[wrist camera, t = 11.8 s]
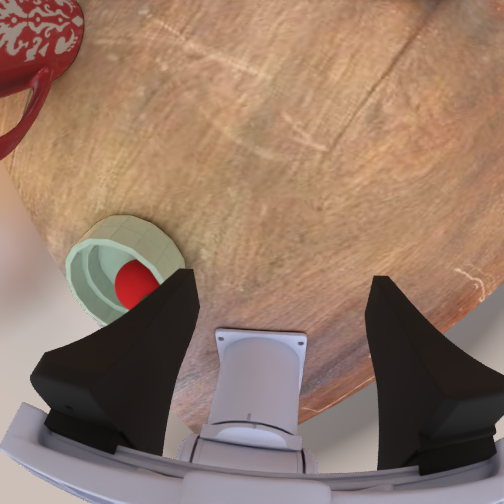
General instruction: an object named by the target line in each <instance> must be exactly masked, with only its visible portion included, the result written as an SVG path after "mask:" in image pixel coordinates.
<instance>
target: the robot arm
mask: <svg viewBox="0 0 504 504" xmlns="http://www.w3.org/2000/svg"><path fill="white" fill-rule="evenodd" d="M199 309H200V304H199V299H198V293H197V288H196V282H195V276H194V270H193V269H184V268H179V269H178V270H176V271H175V272H174V273H173V274H172V275H171V276H170V277H168V278H167V279H166V280H165V281H164V282H163V283H162V284H161V285H160V286H158V287H157V288H156V289H155V290H154V291H153V292H152V293H150V294H149V295H148V296H147V297H146V298H144V299H143V300H142V301H141V302H139V303H138V304H137V305H136V306H134V307H133V308H132V309H131V310H129V311H128V312H127V313H125V314H124V315H122V316H121V317H119V318H118V319H116V320H115V321H113V322H112V323H110V324H109V325H107V326H105V327H103V328H101V329H100V330H98V331H96V332H94V333H92V334H91V335H89V336H86V337H84V338H82V339H80V340H78V341H75V342H73V343H71V344H69V345H66V346H63V347H60V348H57V349H54V350H51V351H48V352H45V353H44V355H43V356H42V358H41V360H40V361H39V363H38V364H37V366H36V368H35V369H34V371H33V372H32V374H31V376H30V381H31V383H32V386H33V387H34V389H35V390H36V392H37V393H38V394H39V395H40V396H41V397H42V399H43V400H44V401H45V402H46V403H47V404H48V406H49V407H50V408H51V410H50V412H49V414H47V413H45V412H44V411H42V410H41V409H38V408H36V407H34V406H32V405H29V404H27V403H25V402H23V403H22V404H21V406H20V408H19V409H18V411H17V413H16V415H15V417H14V419H13V421H12V423H11V424H10V426H9V429H8V430H7V432H6V434H5V437H4V438H3V440H2V442H1V444H0V450H1V451H2V452H3V453H5V454H6V455H7V456H9V457H10V458H11V459H13V460H14V461H15V462H17V463H18V464H19V465H21V466H22V467H24V468H25V469H26V470H28V471H29V472H31V473H32V474H34V475H36V476H38V477H39V478H41V479H43V480H45V481H46V482H48V483H50V484H52V485H54V486H56V487H58V488H60V489H62V490H64V491H66V492H68V493H70V494H72V495H74V496H76V497H78V498H80V499H83V500H85V501H87V502H89V503H92V504H504V438H502V439H499V440H498V441H496V442H494V439H493V435H495V434H496V428H495V423H496V422H497V421H498V420H499V419H500V418H501V417H502V416H503V415H504V375H502V374H501V373H499V372H497V371H495V370H493V369H491V368H489V367H487V366H485V365H484V364H482V363H481V362H479V361H477V360H476V359H474V358H473V357H471V356H469V355H468V354H467V353H465V352H464V351H463V350H461V349H460V348H459V347H457V346H456V345H455V344H453V343H452V342H451V341H449V340H448V339H447V338H446V337H445V336H444V335H443V334H442V333H440V332H439V331H438V330H437V329H436V328H435V327H434V326H433V325H432V324H431V323H430V322H429V321H428V320H427V319H426V318H425V317H424V316H423V315H422V314H421V313H420V312H419V311H418V310H417V309H416V307H415V306H414V305H413V304H412V303H411V302H410V301H409V300H408V298H407V297H406V296H405V295H404V294H403V293H402V291H401V290H400V289H399V288H398V287H397V286H396V284H395V283H394V282H393V281H392V280H391V279H390V277H389V276H374V277H373V281H372V286H371V290H370V294H369V298H368V302H367V306H366V310H365V323H366V333H367V339H368V344H369V349H370V353H371V358H372V363H373V368H374V372H375V377H376V383H377V391H378V408H379V451H378V465H377V471H369V472H355V473H354V472H353V473H331V474H330V473H329V474H318V466H317V461H316V458H315V457H314V455H313V454H312V453H311V451H310V450H309V449H303V448H302V447H301V446H302V437H300V436H297V423H298V401H299V393H300V388H301V381H302V374H303V367H304V360H305V353H306V345H307V335H306V334H304V333H290V332H269V331H251V330H236V329H222V328H219V329H217V330H216V332H215V337H216V342H217V348H218V354H219V359H220V365H221V367H220V371H219V375H218V380H217V384H216V388H215V392H214V396H213V401H212V405H211V409H210V413H209V418H208V422H207V424H203V426H202V430H201V434H200V435H199V434H194V433H193V434H191V435H190V436H189V437H187V438H185V439H184V440H183V442H182V443H181V445H180V448H179V450H178V453H177V456H176V460H175V459H170V458H166V457H162V454H163V446H164V438H165V431H166V426H167V419H168V415H169V410H170V405H171V400H172V396H173V391H174V387H175V383H176V379H177V376H178V373H179V370H180V367H181V364H182V362H183V359H184V356H185V354H186V351H187V348H188V346H189V343H190V340H191V338H192V335H193V332H194V330H195V326H196V322H197V318H198V314H199ZM222 337H223V338H222Z"/></svg>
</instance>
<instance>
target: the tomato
mask: <svg viewBox="0 0 504 504" xmlns="http://www.w3.org/2000/svg"><path fill="white" fill-rule="evenodd" d="M114 286H115V293H116V296H117V298H118V300H119V301H120V302H121V304H122V305H123V306H124V307H126V308H127V309H129V310H131V309H132V308H133V307H134V306H136V305H137V304H138V303H139V302H141V301H142V300H143V299H144V298H146V297H147V296H148V295H149V294H150V293H152V292H153V291H154V290H155V289H156V288H157V287H158V286H160V284H159V282H158V281H157V279H156V278H155V276H154V275H153V273H152V272H151V271H150V269H148V268H147V267H146V266H145V265H143V264H142V263H141V262H140V261H138V260H137V259H135V260H131V261H129V262H127V263H126V264H124V265H123V266H122V267H121V268H120V270H119V271H118V273H117V275H116V278H115V285H114Z"/></svg>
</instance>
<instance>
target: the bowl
mask: <svg viewBox="0 0 504 504" xmlns="http://www.w3.org/2000/svg"><path fill="white" fill-rule="evenodd" d="M135 259H137V260H138V261H140V262H141V263H142V264H143V265H145V266H146V267H147V268H148V269H150V271H151V272H152V273H153V275H154V276H155V278H156V279H157V281H158V282H159V284H160V285H161V284H162V283H163V282H164V281H165V280H166V279H167V278H168V277H170V276H171V275H172V274H173V273H174V272H175V271H176V270H178V269H179V268H184V269H186V268H185V262H184V258H183V256H182V255H181V253H180V252H179V250H178V248H177V247H176V245H175V244H174V242H173V240H171V238H170V237H168V236H167V235H166V234H165V233H164V232H162V231H161V230H160V229H159V228H158V227H156V226H155V225H154V224H152V223H150V222H148V221H145V220H142V219H140V218H137V217H135V216H131V215H112V216H109V217H107V218H105V219H103V220H101V221H99V222H98V223H96V224H95V225H94V226H93V227H92V228H91V229H90V230H89V231H88V232H87V233H86V234H85V235H84V236H83V237H82V238H81V239H80V240H79V241H78V242H77V243H76V244H75V245H74V246H73V247H72V249H71V251H70V253H69V255H68V257H67V259H66V261H65V264H66V280H67V282H68V284H69V287H70V289H71V292H72V294H73V296H74V297H75V299H76V300H77V301H78V303H80V305H81V306H82V307H83V309H84V310H85V311H86V312H87V313H88V314H89V315H90V316H92V317H93V318H94V319H95V320H97V321H98V322H99V323H101V324H102V325H104V326H107V325H109V324H110V323H112V322H113V321H115V320H116V319H118V318H119V317H121V316H122V315H124V314H125V313H127V312H128V311H129V309H127V308H126V307H124V306H123V305H122V304H121V302H120V301H119V300H118V298H117V296H116V293H115V286H114V285H115V278H116V275H117V273H118V271H119V270H120V268H121V267H122V266H123V265H124V264H126V263H127V262H129V261H131V260H135Z"/></svg>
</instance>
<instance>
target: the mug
mask: <svg viewBox="0 0 504 504" xmlns="http://www.w3.org/2000/svg"><path fill="white" fill-rule="evenodd" d="M82 36H83V15H82V12H81V9H80V7H79V5H78V3H77V2H76V1H75V0H0V99H1V98H3V97H6V96H9V95H11V94H14V93H17V92H20V91H23V90H26V89H29V88H32V89H33V95H32V98H31V101H30V103H29V105H28V107H27V110H26V112H25V114H24V116H23V118H22V119H21V121H20V122H19V123H18V124H17V126H16V127H15V128H13V129H12V130H11V131H10V132H8V133H7V134H5V135H3V136H1V137H0V160H2V159H3V158H4V157H6V156H7V155H8V154H9V153H10V152H12V151H13V150H14V149H15V148H16V146H17V145H18V144H19V143H20V142H21V140H22V139H23V138H24V136H25V135H26V133H27V132H28V130H29V129H30V127H31V126H32V124H33V122H34V121H35V119H36V117H37V115H38V113H39V111H40V109H41V107H42V105H43V103H44V101H45V99H46V97H47V94H48V92H49V89H50V86H51V83H52V81H53V80H55V79H57V78H58V77H59V76H61V75H62V74H63V73H64V72H65V71H66V70H67V69H68V67H69V66H70V65H71V63H72V62H73V60H74V58H75V56H76V54H77V52H78V50H79V47H80V44H81V41H82Z"/></svg>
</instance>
